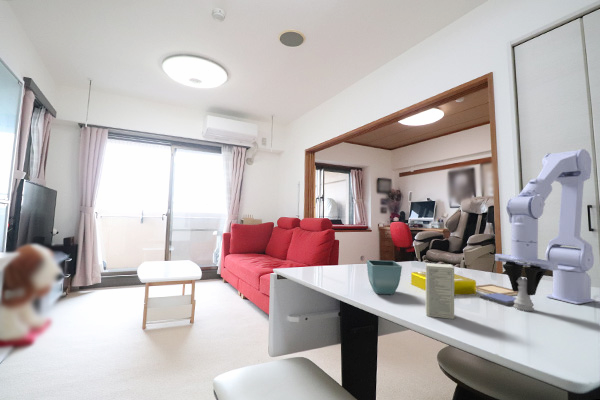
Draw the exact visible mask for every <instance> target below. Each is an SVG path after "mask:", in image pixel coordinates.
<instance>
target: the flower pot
mask: <svg viewBox="0 0 600 400" xmlns="http://www.w3.org/2000/svg"><path fill="white" fill-rule="evenodd" d="M366 269H367V277H368V282H369V283H370V286H371V288H372V290H373V291H374V293H375V294H378V295H394V294H395V293H396V291H397V289H398V288H399V285H400V281H401V276H402V270H403V266H402V265H400V264H399V263H398V262H396V261H394V260H377V259H376V260H373V259H372V260H371V259H370V260H369V259H368V260H366Z"/></svg>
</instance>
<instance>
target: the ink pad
mask: <svg viewBox="0 0 600 400" xmlns="http://www.w3.org/2000/svg"><path fill="white" fill-rule="evenodd" d="M516 298H517V297H514V296H508V295H504V294H500V293H493V294H488V293H485V294H480V295H479V299H482V300H484V301H485V300H486V301H488V300H489V302H492V303H495V304H499V305H502V306H505V307H511V306H513V305H514V304H515V303H514V300H516Z"/></svg>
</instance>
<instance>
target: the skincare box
mask: <svg viewBox="0 0 600 400" xmlns="http://www.w3.org/2000/svg"><path fill="white" fill-rule="evenodd" d="M425 272H426V291H425V314H426V316H427V317H434V318H443V319H451V320H454V319H455V295H454V274H455V267H454V265H453V264H451V263H450V264H449V263H447V264H445V263H434V262H433V263H432V262H431V263H430V262H425Z"/></svg>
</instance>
